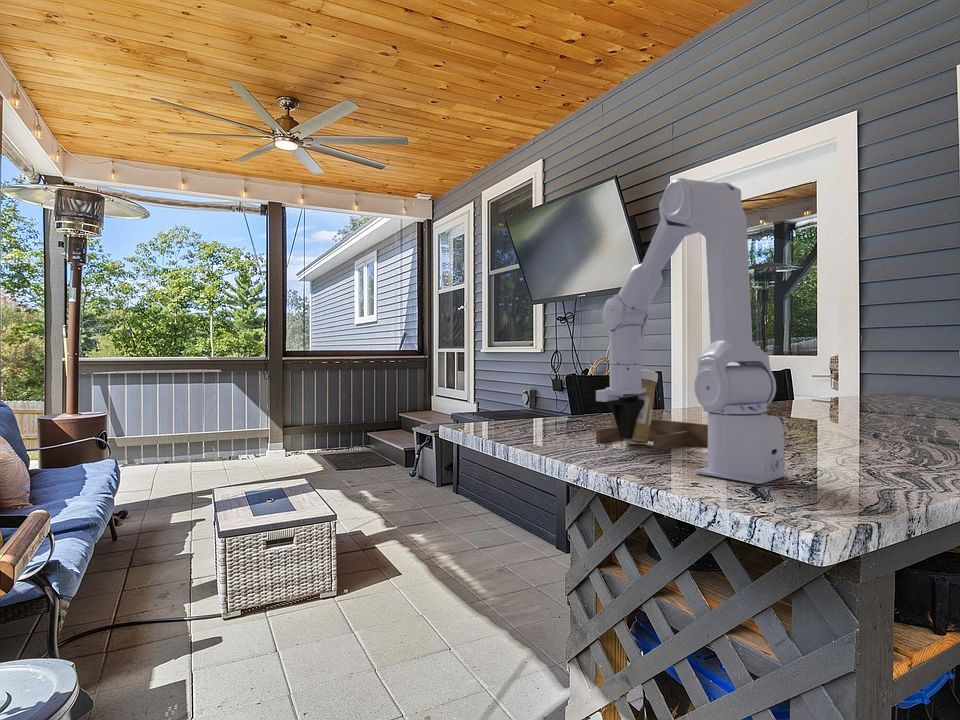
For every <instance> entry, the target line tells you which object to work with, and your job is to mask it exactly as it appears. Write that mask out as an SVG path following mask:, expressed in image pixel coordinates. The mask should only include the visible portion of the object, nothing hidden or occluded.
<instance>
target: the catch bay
mask: <svg viewBox="0 0 960 720" xmlns="http://www.w3.org/2000/svg"><path fill="white" fill-rule="evenodd" d="M595 434H596V435H595V436H596V437H595V439H596V441H595V442H596V443H599V444H601V443H606V442H607V443H608V442H611V441H617V440H623V439H624V438H620V435H619V431H618V427H617V424H616V421H615V418H614V415H613V414H612V415H611V426H610V427H602V428H597V429H595ZM624 440H625V439H624ZM649 440H650V441H653V442H652V443H653V445H652V447H653V452H661V451H665V450H670V449H671V450H672V449H675V448H680V447H685V446H695V447H704V448H708V423H707V424H705V423H696V422H687V421H678V420H677V421H675V420H667V419H666V420H665V419H655V418H651V425H650V429H649V436H648V441H649Z"/></svg>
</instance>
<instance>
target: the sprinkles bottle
mask: <svg viewBox="0 0 960 720" xmlns="http://www.w3.org/2000/svg"><path fill="white" fill-rule="evenodd" d="M658 378H659V375H658V372H656V371H652V370H649V369H642V388H647V392H645V393H641V394H640V395H636V396H637V399H640V400H644V406H643V407H642V409H641V411H640V413H639V415H638V418H637V420H636V424H635V427H634V431H633V435H632V439H624V440H625V441H629V442H633V443H637V444H648V443H649V439H648V436H649V429H650V425H651V419H653V418H652V415H653V406H654V401H655V400H654V399H655V391H656V387H657V383H658V380H659V379H658ZM630 395H634V394H630Z"/></svg>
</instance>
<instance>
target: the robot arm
mask: <svg viewBox="0 0 960 720" xmlns="http://www.w3.org/2000/svg"><path fill="white" fill-rule="evenodd" d="M658 209H659V211H658V212H659V217H660V221H659V223H658V225H657V227H656V230H655V232H654V234H653V237H652V239H651V242H650V244H649V246H648V248H647V250H646V253H645V256H644V257H643V260H642V262H641V263H639V264H635V265H633V266H632V268H631V269H630V271H629V273H628V275H627V277H626V279H625V281H624V282H623V285H622V286H621V288H620V290H619V292H618V293H617V294H616V293H615V294H614V295H613V296H612V297H610V298H608V299H607V300H606V301H605V303H604V306H603V310H602V322H603V324H604V326H605V328H606V329H607V330H608V331H609V333H608V334H609V336H608V337H609V338H608V339H609V340H608V341H609V343H608V344H609V349H608V350H609V354H608V355H609V357H608V358H609V387H605V388H604V389H598V390H595V401H596V402H603V403H606V405H607V406H608V408H609V409H610V411H611V413H612V415H614V418H615V421H616V424H617V427H618V431H619V435H620V438H624V440H625V439H632V435H633V431H634V427H635V424H636V420H637V418H638V415H639V413H640V411H641V409H642V407H643V406H644V400H640V399H637V396H636V395H640V394H641V393H645V392H647V388H642V370H643V369H642V367H643V365H642V364H643V363H642V360H643V359H642V340H643V339H644V338H645V337H644V336H645V330H646V326H647V324H648V321H649V317H650V316H649V313H648V309H649V306H650V305H651V303H652V302H653V300H654V297H655V296H656V294H657V293H658V291H659V289H660V288H661V285H662V284H663V282H664V280H663V279H664V278H663V275H662V271H663V269H664V268H665V266H666V264H668V262H669V260H670V259H671V257H672V256H673V254H674V253H675V252H676V250H677V248H678V247H679V246H680V244H681V243H682V241H683V240H684V238H686V237H688V236H690V235H693V234H698V233H699V234H701V235H702V236H704V238H705V250H706V253H705V254H706V276H707V292H708V293H707V294H708V295H707V296H708V313H709V314H708V316H709V337H710V338H709V340H710V341H709V342H710V344H709V345H708V347H707V348H706V349H705V350H704V351H703V353H701V354H700V355H699V357H698V358H697V371H696V372H697V373H696V376H695V380H694V386H693V387H694V393H695V397H696V399H697V402H698V403H699V405H700V406H701V407H702V410H703V412H706V413H707V424H708V447H707V466H705V467H701V468H697V469H695V470H694V471H695V474H699V475H704V476H711V477H716V478H721V479H725V480H727V479H728V480H732V481H738V482H744V483H751V484H754V485H755V484H757V485H762V484H766V483H768V482H772V481H775V480H778V479H780V478H783V477H787V475H788V473H787V472H785V429H784V425H783V422H782V420H781V419H780V418H779V417H778V416H776V415H770V414H769V415H768V414H765V413H766V412H768V405H769V404H771V402H773V400H774V399H775V396H776V392H777V382H776V377H775V376H774V373H773V372H772V369H771V365H770V364H771V363H770V355H768V354H767V353H766V352H765V351H764V350H762V349H761V347H759V346H758V345H756V344H755V343H754V342H753V325H752V323H753V322H752V310H751V309H752V308H751V307H752V305H751V285H750V267H749V266H750V265H749V264H750V262H749V246H748V245H749V244H748V243H749V241H748V224H747V223H748V222H747V215H746V213H745V211H744V208H743V205H742V191H741V188H738V187H737V186H735V185H733V184H731V183H729V182H712V181H707V180H705V181H704V180H698V179H696V180H695V179H687V178H684V177H676V178H673V179H672V180H671V181H670V182H669V183H668V184H667V186H666V188H665V190H664V191H663V195H662V198H661V200H660V201H659V205H658ZM729 363H736V364H738V365H729ZM631 394H634V395H631Z"/></svg>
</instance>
